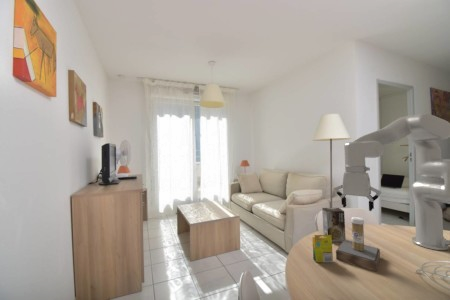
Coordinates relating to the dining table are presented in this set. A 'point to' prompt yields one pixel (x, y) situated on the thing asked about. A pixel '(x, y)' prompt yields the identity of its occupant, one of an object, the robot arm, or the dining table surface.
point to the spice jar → (357, 233)
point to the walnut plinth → (358, 255)
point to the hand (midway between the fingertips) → (357, 208)
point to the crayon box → (322, 248)
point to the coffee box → (334, 223)
